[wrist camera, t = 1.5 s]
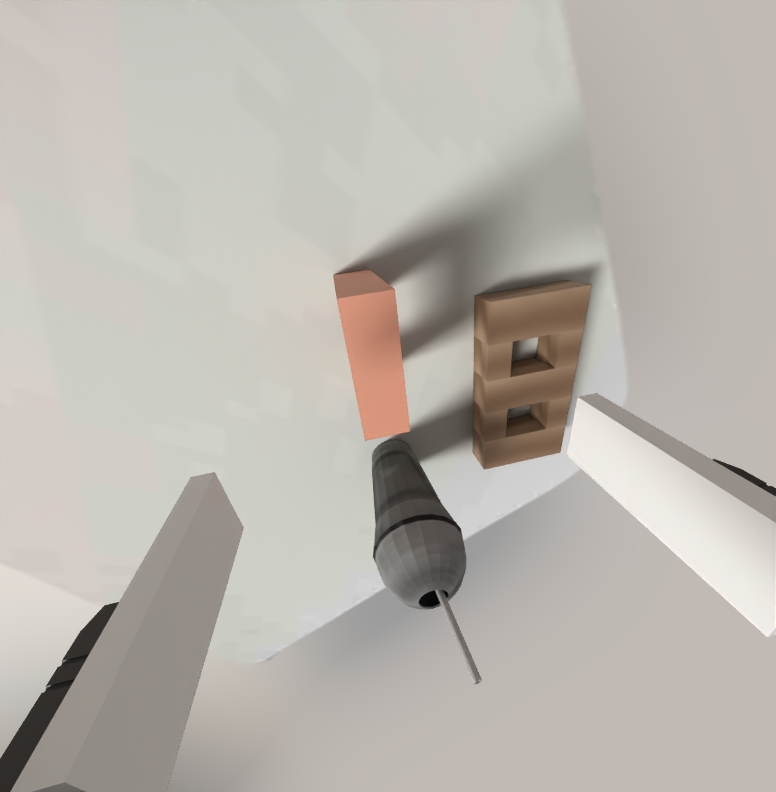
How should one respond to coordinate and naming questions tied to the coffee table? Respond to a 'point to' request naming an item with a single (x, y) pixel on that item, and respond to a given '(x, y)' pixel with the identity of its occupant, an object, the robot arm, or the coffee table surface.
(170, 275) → the coffee table surface
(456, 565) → the beverage cup
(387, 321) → the block
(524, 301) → the slotted wooden board
